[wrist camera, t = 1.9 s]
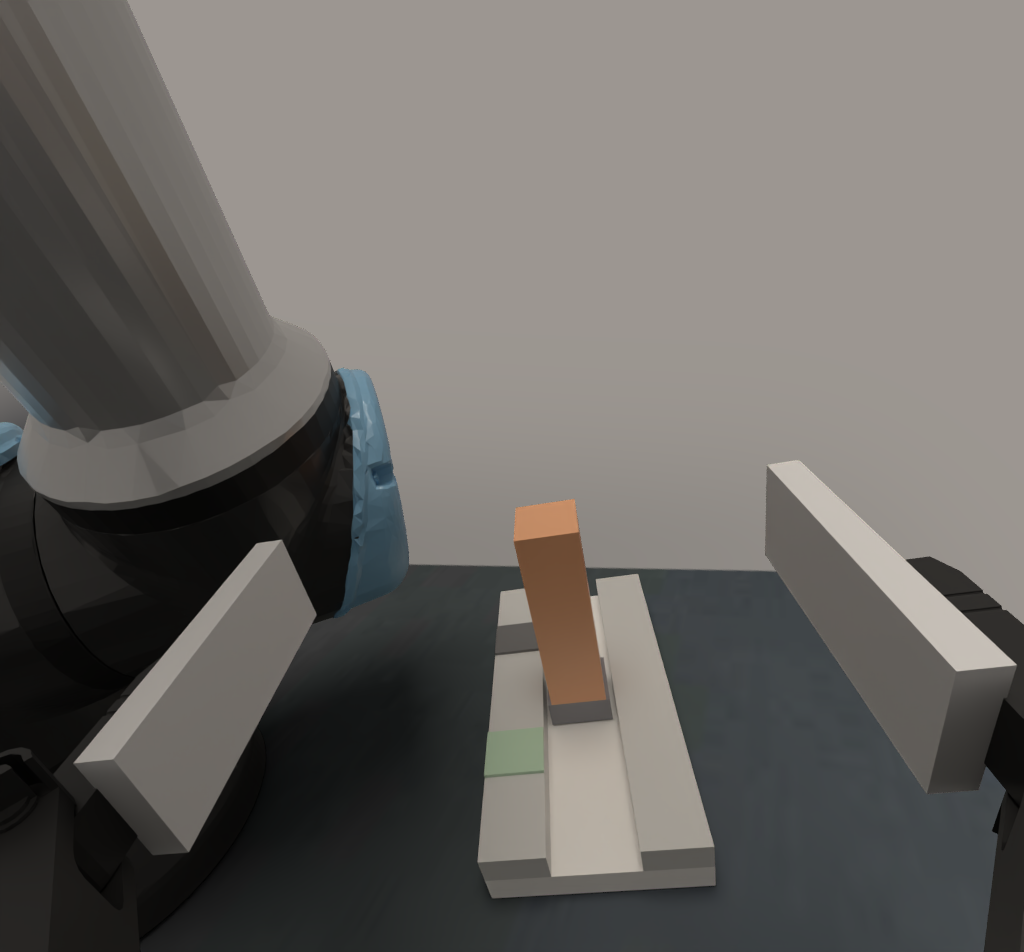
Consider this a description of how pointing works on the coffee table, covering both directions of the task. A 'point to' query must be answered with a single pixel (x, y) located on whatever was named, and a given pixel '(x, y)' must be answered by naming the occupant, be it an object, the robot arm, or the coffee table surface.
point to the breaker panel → (589, 768)
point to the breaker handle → (562, 611)
